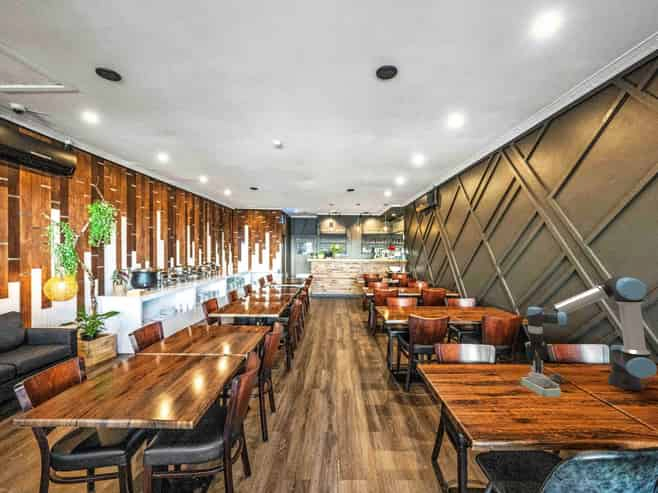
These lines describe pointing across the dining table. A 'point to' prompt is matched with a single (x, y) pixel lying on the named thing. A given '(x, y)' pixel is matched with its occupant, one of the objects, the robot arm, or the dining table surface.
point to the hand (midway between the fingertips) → (536, 370)
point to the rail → (553, 378)
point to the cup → (538, 379)
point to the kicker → (538, 370)
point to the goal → (537, 389)
